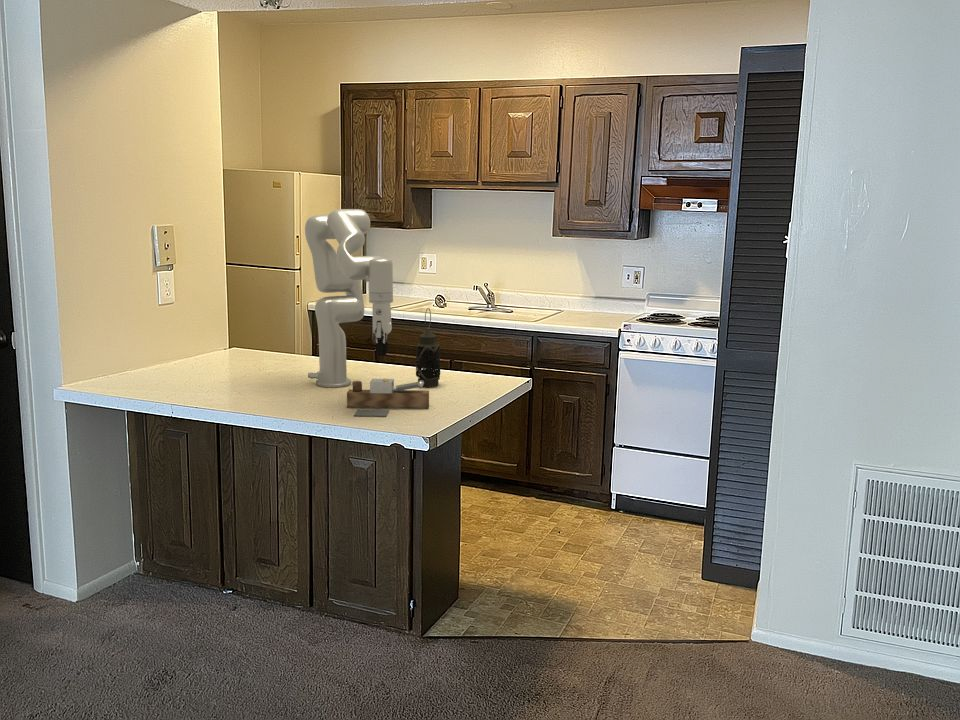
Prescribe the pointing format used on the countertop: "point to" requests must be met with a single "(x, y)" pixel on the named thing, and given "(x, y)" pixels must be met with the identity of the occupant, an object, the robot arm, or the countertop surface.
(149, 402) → the countertop surface
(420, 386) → the lever
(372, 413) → the mat
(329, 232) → the robot arm
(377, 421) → the countertop surface
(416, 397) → the plane body
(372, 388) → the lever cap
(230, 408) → the countertop surface
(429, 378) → the lantern
